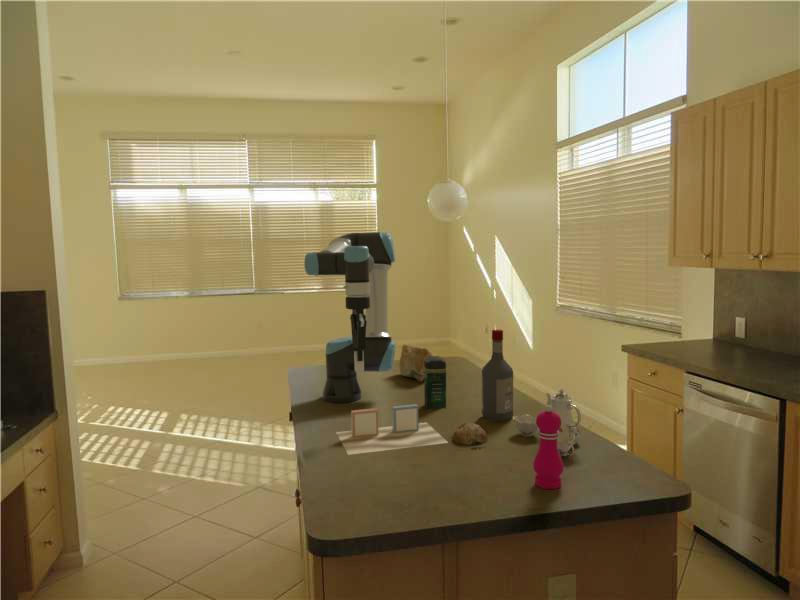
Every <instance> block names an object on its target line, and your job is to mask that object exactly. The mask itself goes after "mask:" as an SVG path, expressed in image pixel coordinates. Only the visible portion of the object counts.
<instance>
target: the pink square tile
mask: <svg viewBox="0 0 800 600" xmlns="http://www.w3.org/2000/svg"><path fill="white" fill-rule="evenodd" d="M350 425H351V426H350V427H351V430H350V431H351V432H352V438H359V437H368V436H376V435H378V428H379V409H378V408H377V407H376V408H375V407H374V408H366V409H355V410H350Z"/></svg>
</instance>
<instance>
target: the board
mask: <svg viewBox="0 0 800 600" xmlns="http://www.w3.org/2000/svg"><path fill="white" fill-rule="evenodd" d="M335 433H336V435H337V437H338V439H339V441H340V443H341V445H342V446H343V449H344V450H345V451H346V453H347V455H348V456H351V455H361V454H368V453H376V452H384V451H391V450H392V451H393V450H401V449H410V448H417V447H426V446H434V445H441V444H442V445H443V444H449V442H448V441H447V440H446V439H445V437H443V436H442V435H441V434H440V433H439V432H438V431H437V430H436V429H434V428H433V427H432V426H431V425H430V424H429V423H428V422H420V423H419V431H412V432H403V433H393V432H392V425H391V426H382V427H378V435H376V436H368V437H359V438H352V432H351V430H345V431H335Z"/></svg>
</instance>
